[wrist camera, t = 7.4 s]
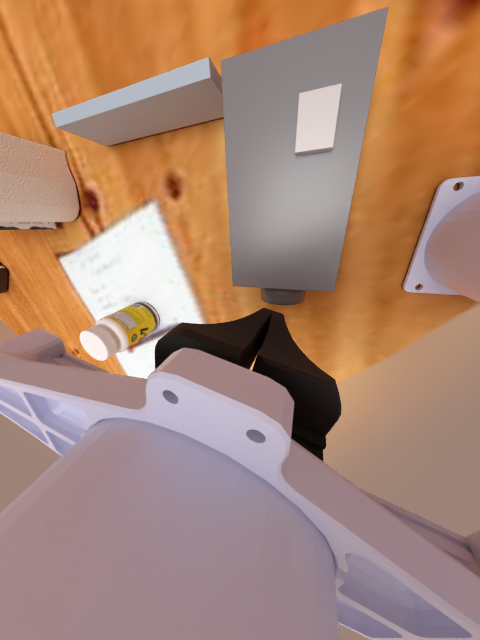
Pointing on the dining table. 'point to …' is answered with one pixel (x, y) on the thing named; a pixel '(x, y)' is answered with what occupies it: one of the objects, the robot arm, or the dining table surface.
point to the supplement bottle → (119, 330)
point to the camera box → (296, 153)
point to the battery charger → (3, 279)
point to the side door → (148, 106)
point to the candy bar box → (27, 225)
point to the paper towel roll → (35, 183)
